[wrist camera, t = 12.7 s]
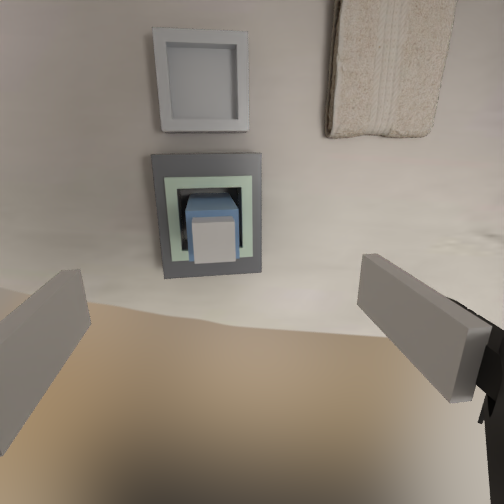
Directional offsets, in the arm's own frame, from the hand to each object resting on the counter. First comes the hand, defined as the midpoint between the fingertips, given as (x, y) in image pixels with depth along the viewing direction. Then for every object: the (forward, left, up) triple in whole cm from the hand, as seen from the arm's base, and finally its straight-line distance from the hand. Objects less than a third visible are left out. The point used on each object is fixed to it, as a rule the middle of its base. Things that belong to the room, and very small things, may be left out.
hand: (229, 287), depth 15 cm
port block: (0, 0, -20) cm, 20 cm away
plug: (0, 0, -20) cm, 20 cm away
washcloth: (-16, +18, -21) cm, 32 cm away
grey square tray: (-12, 0, -20) cm, 23 cm away
